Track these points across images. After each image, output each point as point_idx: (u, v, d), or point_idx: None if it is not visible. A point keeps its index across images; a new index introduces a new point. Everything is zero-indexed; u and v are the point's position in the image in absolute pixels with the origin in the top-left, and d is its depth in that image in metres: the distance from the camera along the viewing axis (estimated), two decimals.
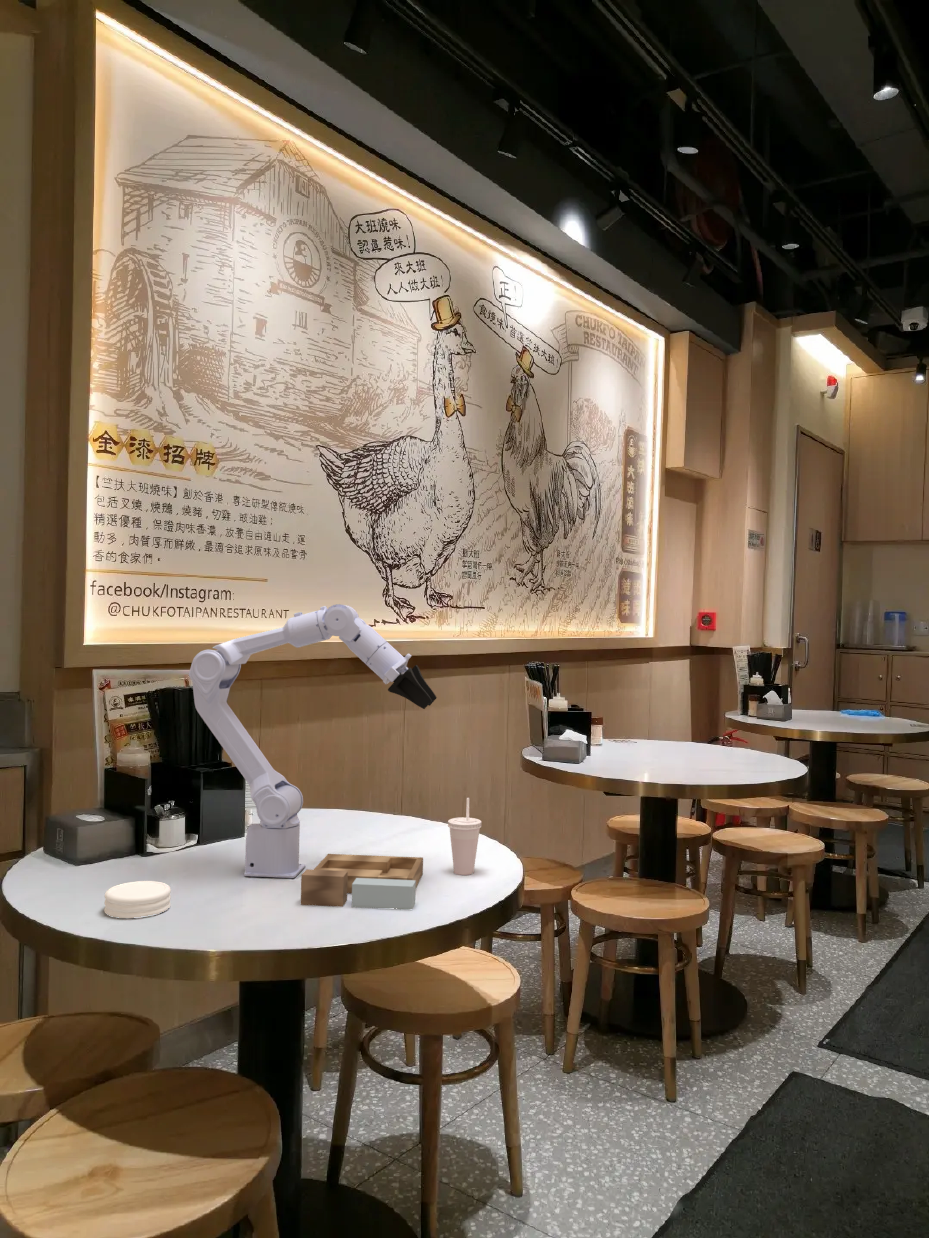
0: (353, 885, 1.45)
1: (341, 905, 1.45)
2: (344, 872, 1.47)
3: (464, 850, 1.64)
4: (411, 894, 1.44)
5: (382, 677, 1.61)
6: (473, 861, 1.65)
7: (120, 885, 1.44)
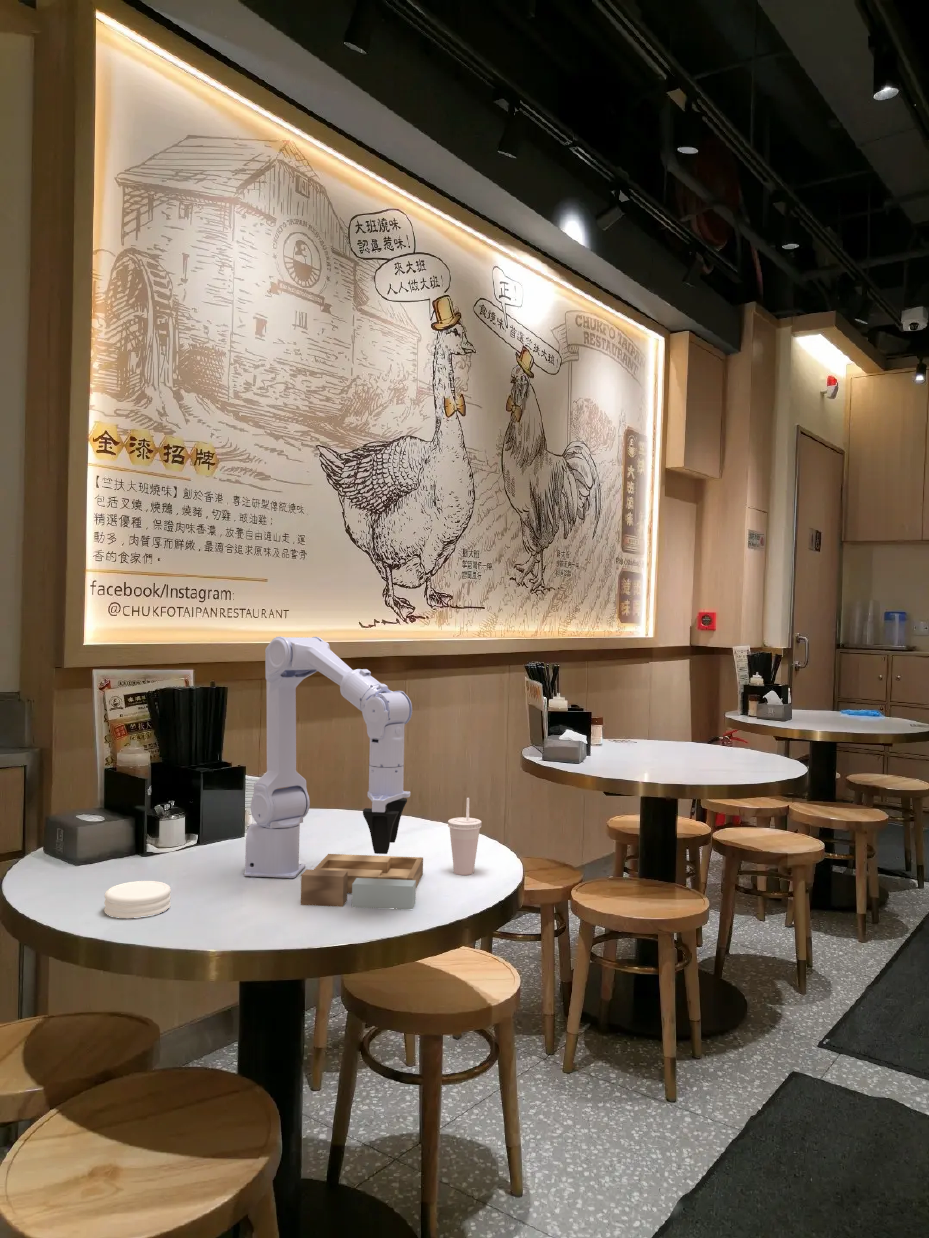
0: (353, 885, 1.45)
1: (341, 905, 1.45)
2: (344, 872, 1.47)
3: (464, 850, 1.64)
4: (411, 894, 1.44)
5: (370, 790, 1.45)
6: (473, 861, 1.65)
7: (120, 885, 1.44)
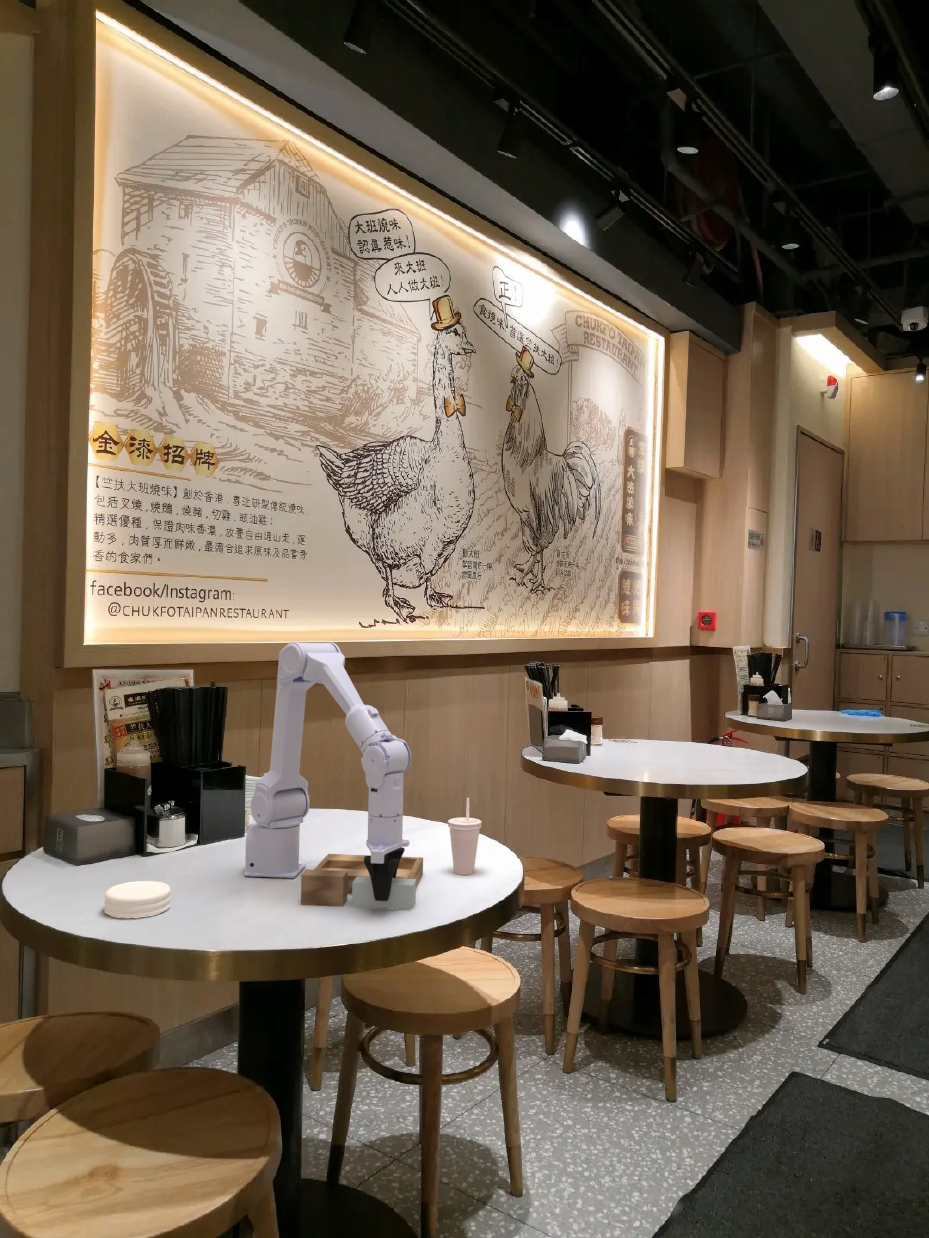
0: (353, 884, 1.45)
1: (341, 905, 1.45)
2: (344, 872, 1.47)
3: (464, 850, 1.64)
4: (411, 893, 1.44)
5: (369, 839, 1.45)
6: (473, 861, 1.65)
7: (120, 885, 1.44)
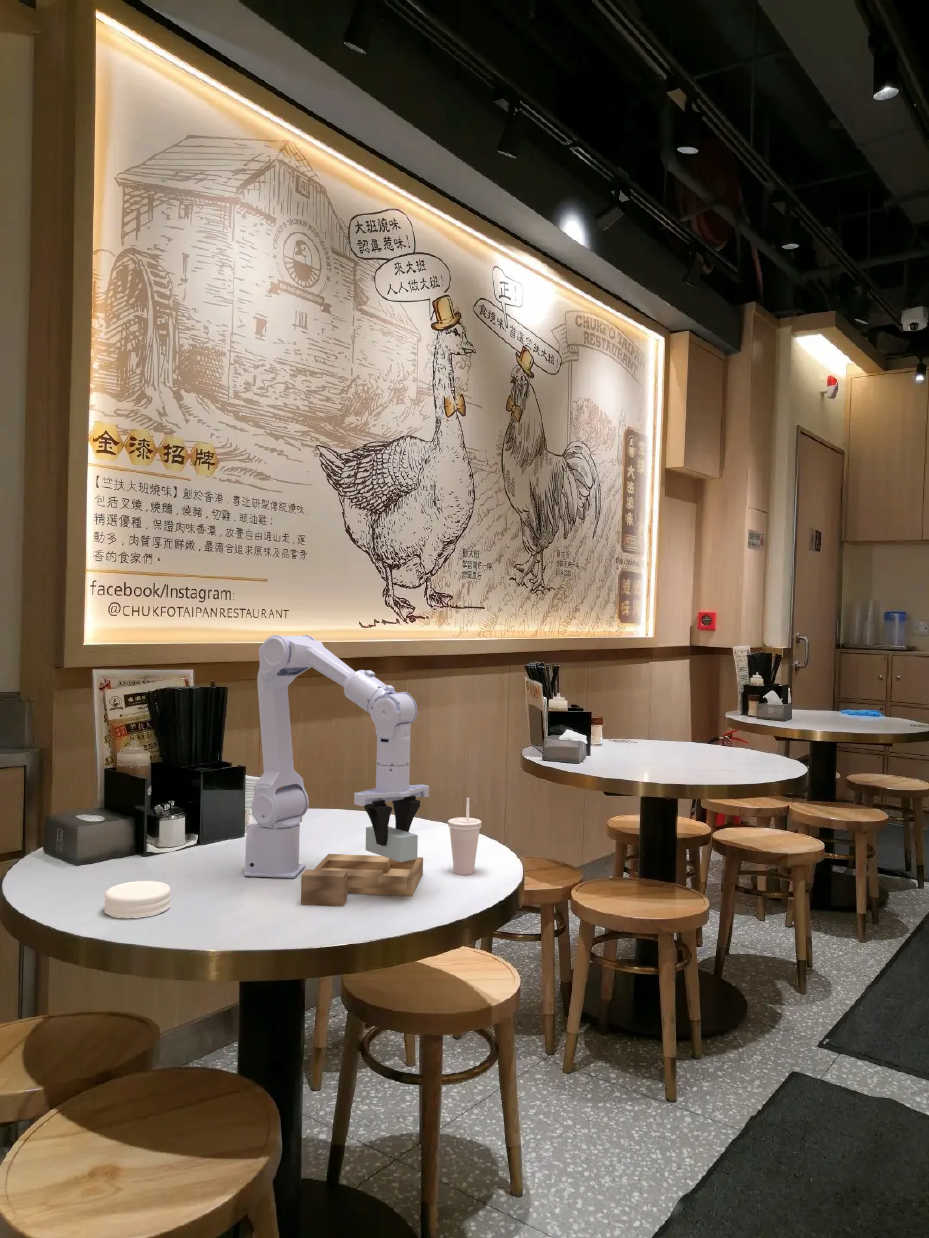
0: (366, 828, 1.54)
1: (341, 905, 1.45)
2: (344, 872, 1.47)
3: (464, 850, 1.64)
4: (399, 845, 1.47)
5: None
6: (473, 861, 1.65)
7: (120, 885, 1.44)
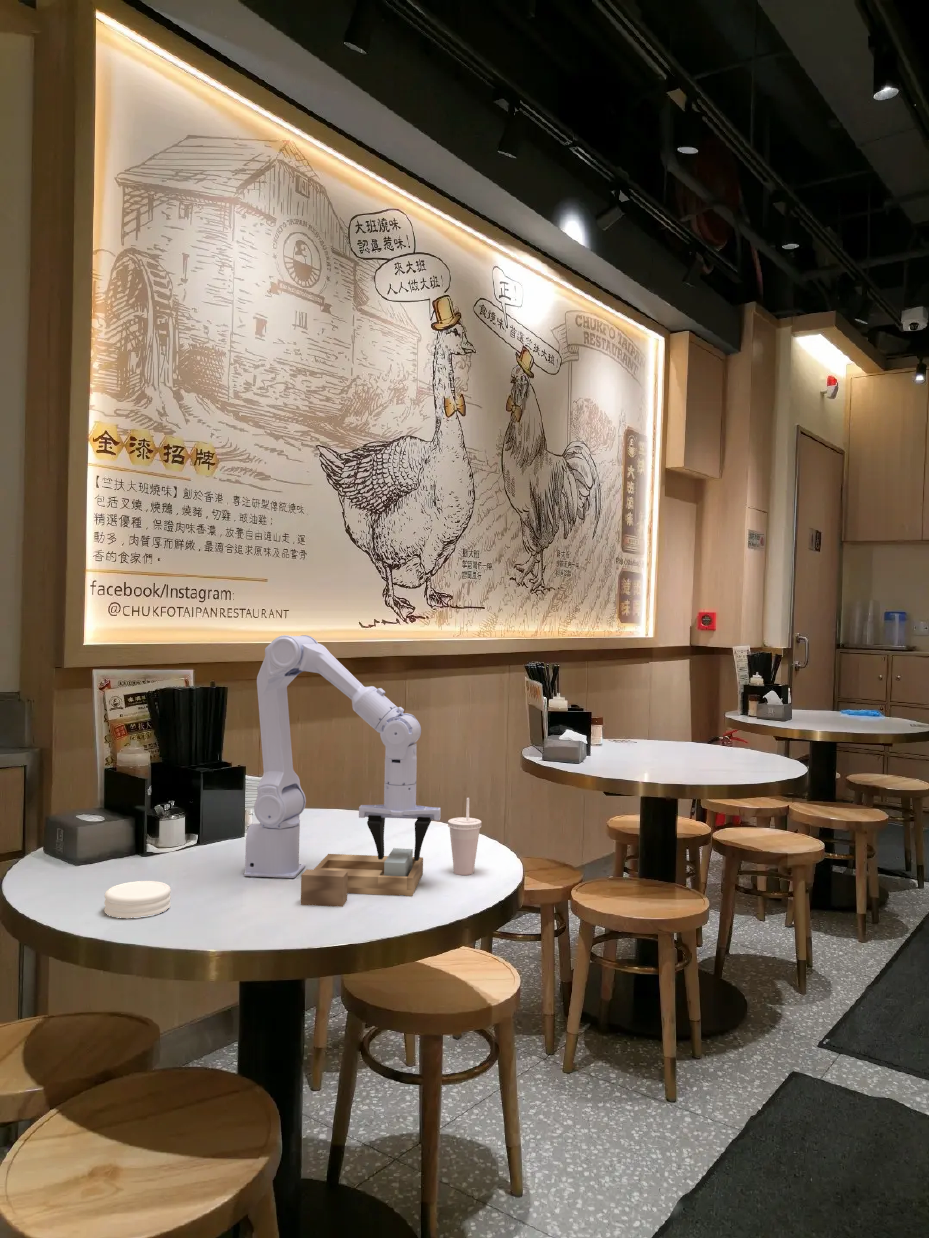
0: (393, 849, 1.63)
1: (341, 905, 1.45)
2: (344, 872, 1.47)
3: (464, 850, 1.64)
4: (384, 869, 1.54)
5: None
6: (473, 861, 1.65)
7: (120, 885, 1.44)
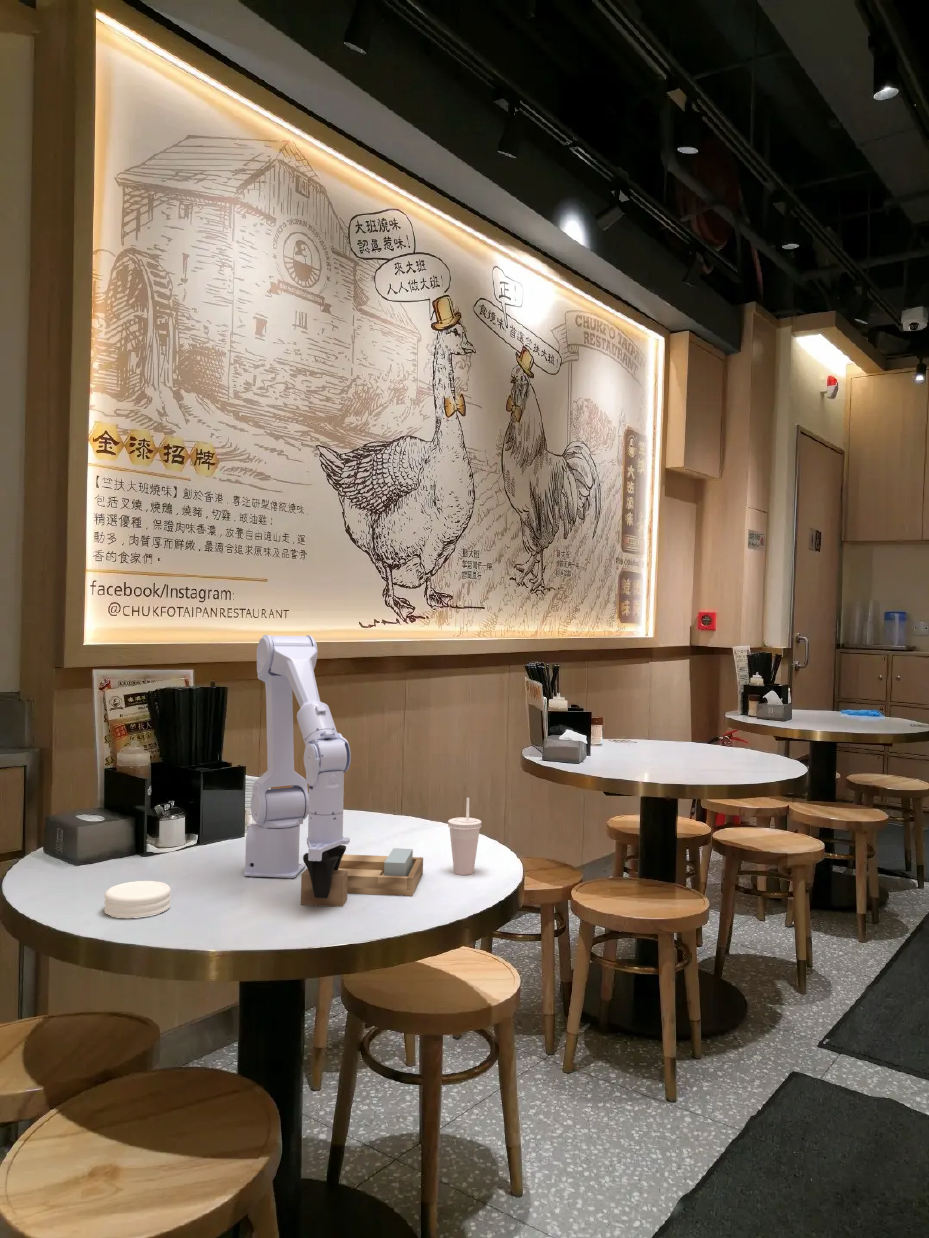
0: (393, 849, 1.63)
1: (341, 904, 1.45)
2: (344, 871, 1.47)
3: (464, 850, 1.64)
4: (384, 869, 1.54)
5: (309, 837, 1.46)
6: (473, 861, 1.65)
7: (120, 885, 1.44)
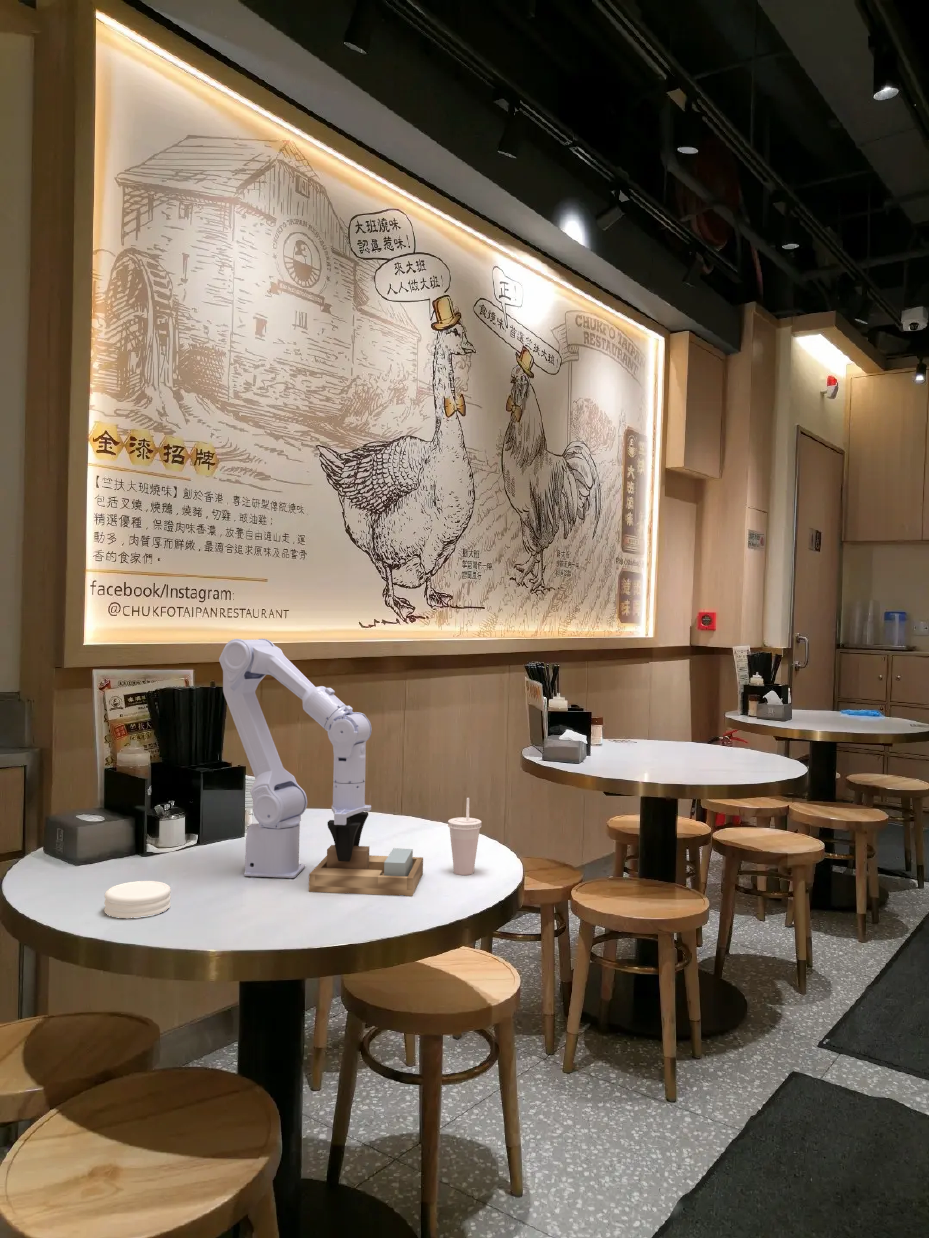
0: (393, 849, 1.63)
1: None
2: (366, 847, 1.60)
3: (464, 850, 1.64)
4: (384, 869, 1.54)
5: (334, 804, 1.58)
6: (473, 861, 1.65)
7: (120, 885, 1.44)
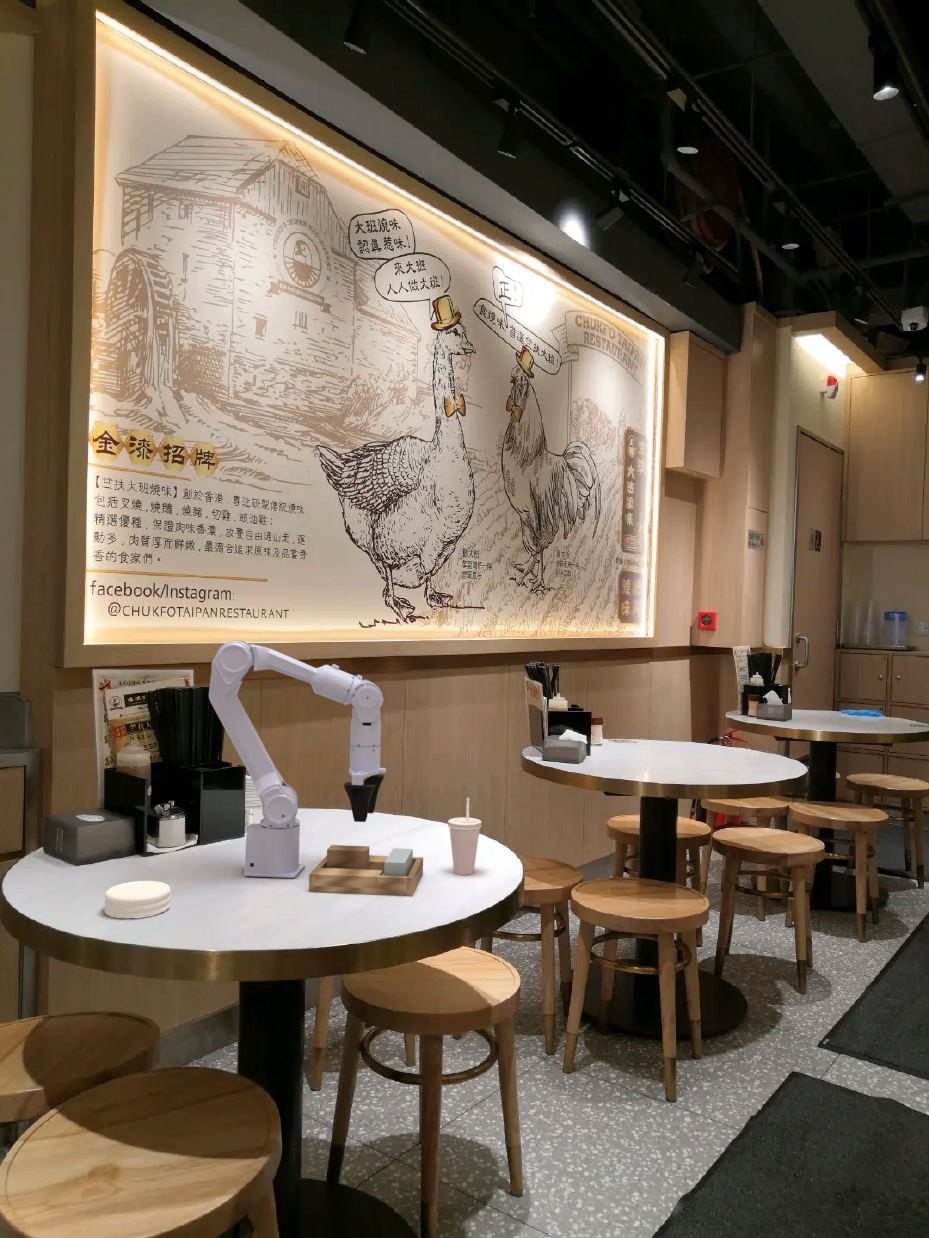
0: (393, 849, 1.63)
1: None
2: (366, 847, 1.60)
3: (464, 850, 1.64)
4: (384, 869, 1.54)
5: (351, 766, 1.66)
6: (473, 861, 1.65)
7: (120, 885, 1.44)
